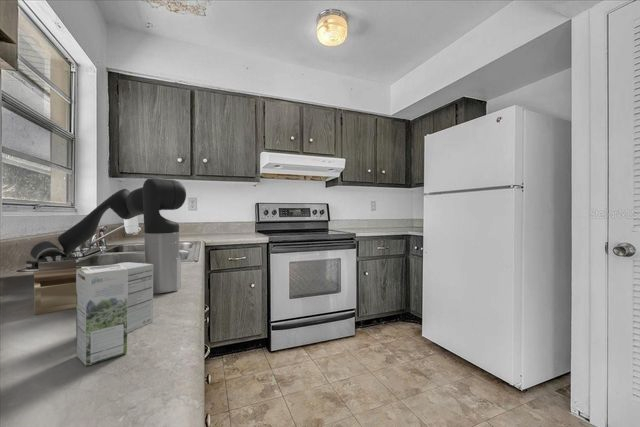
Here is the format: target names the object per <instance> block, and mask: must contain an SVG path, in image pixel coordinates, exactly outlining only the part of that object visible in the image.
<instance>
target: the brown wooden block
mask: <svg viewBox="0 0 640 427" xmlns="http://www.w3.org/2000/svg"><path fill="white" fill-rule="evenodd" d="M81 268H83V267H81V265H80V266H77V265H76V259H74V260H63V261H51V262H40V263H38V270H33V283H34V282H42V281H51V280H59V279H67V278H75V277H76V270H77V269H81Z"/></svg>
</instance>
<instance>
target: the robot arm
mask: <svg viewBox="0 0 640 427" xmlns="http://www.w3.org/2000/svg"><path fill="white" fill-rule="evenodd" d="M186 199H187V191H186V188H185V186H184V185H183V183H181V182H180V181H178V180H175V179H166V178H165V179H164V178H163V179H162V178H147V179H145V181H144V183H143V184H142V187H139V188H136V189H134V190H132V191H130V190H129V189H127V188H121V189H119V190H118V191H116V192H115V193H114V192H113V194H112V195H110V196H109V197H108V198H106V199H104V201H103V202H102V203H100V204H99V205H97V207H95V208H94V209H92V211H91V212H89V213H88V214H87V215H86V216H85V217H84V218H82V219H81V220H80V221H79V222H78V223H76V224H75V225H73V226H72V227H70V228H68V229H67V230H66V231H64V232H63V233H62V234H60V235H59V236H58V237H57V242H58V243H59V244H60V246H61V247H62V249H63V250H62V249H61V248H60V247H58V246H56V245H55V243H53V242H52V241H49V240H46V241H45V240H43V241H41V242H38V243H37V244H36V245H34V246H33V247H32V248H31V249H30V253H29V254H30V256H31V257H32V258H33V259H35V260H27V261H25V269H26V270H27V271H30V270H32V271H38V263H40V262H51V261H63V260H74V259H76V266H77V265H79V262H80V261H79V260H80V259H79V256H77V255H76V256H72V257H69V256H70V255H71V253H73V252H74V251H75V250H76V249H77V248H79V247H80V246H81V245H83V244H85V243H86V242H87V241H89V240H90V239H91V238H92V237H93V236H94V235H95V234H96V232H97V230H98V227H99V224H100V221H101V219H102V217H103V216H104V214H105V213H106V211H108V210H109V209H111V210H112V212H114V213H115V214H116V215H117V216H118V217H120V219H122V220H130V219H132V218H134V217H137V216H141V215H143V227H144V232H143V233H144V239H143V240H144V264H153V294H163V293H164V294H165V293H170V292H177V291H178V290H180V288H181V286H182V257H181V255H180V224H179V222H177V221H174V220H170V219H169V218H168V219H167V218H165V217H164V216H163V215H162V214H161V213H160V212H161V211H175V210H179V209H180V208H181V207H182V206H183V205H184V204H185V201H186Z"/></svg>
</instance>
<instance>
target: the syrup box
mask: <svg viewBox="0 0 640 427" xmlns="http://www.w3.org/2000/svg"><path fill="white" fill-rule="evenodd" d="M127 298H128V270H127V269H126V268H125V267H123V266H121V265H119V264H118V263H115V264H114V265H113V264H106V265H99V266H91V267H82V268H81V269H77V270H76V308H75V310H76V312H75V316H76V319H75V320H76V321H75V323H76V324H75V327H76V329H75V331H76V333H75V334H76V335H75V347H76V348H75V349H76V350H75V351H76V352H75V354H76V356H77V357H78V359H79V360H80V361H81V362H82V363H83V364H84V366H85V367H88V366H89V367H90V366H91V365H95V364H99V363H101V362H105V361H107V360H111V359H113V358H116V357H119V356H122V355H126V354H127V353H128V333H127Z"/></svg>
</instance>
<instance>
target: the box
mask: <svg viewBox="0 0 640 427" xmlns="http://www.w3.org/2000/svg"><path fill="white" fill-rule="evenodd" d="M33 298H34V299H33V304H34V305H33V306H34V315H35V316H37V315H42V314H48V313H53V312H59V311H65V310H70V309H76V277H75V278H67V279H59V280H51V281H42V282H34V281H33Z"/></svg>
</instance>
